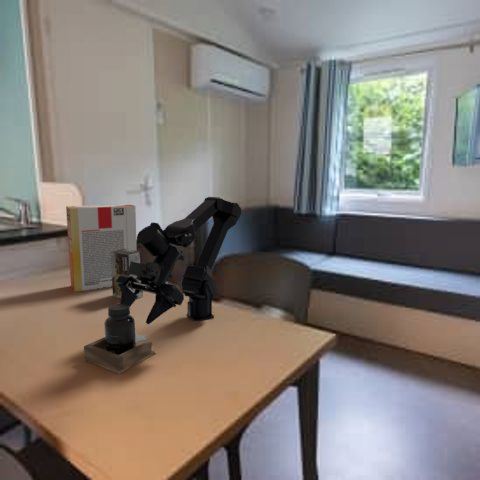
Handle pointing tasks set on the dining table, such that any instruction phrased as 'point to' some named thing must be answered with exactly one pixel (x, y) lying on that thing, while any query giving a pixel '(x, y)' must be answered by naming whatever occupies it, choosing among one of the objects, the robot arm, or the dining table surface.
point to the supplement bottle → (119, 329)
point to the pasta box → (97, 241)
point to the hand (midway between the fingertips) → (133, 319)
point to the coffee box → (123, 267)
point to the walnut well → (116, 356)
